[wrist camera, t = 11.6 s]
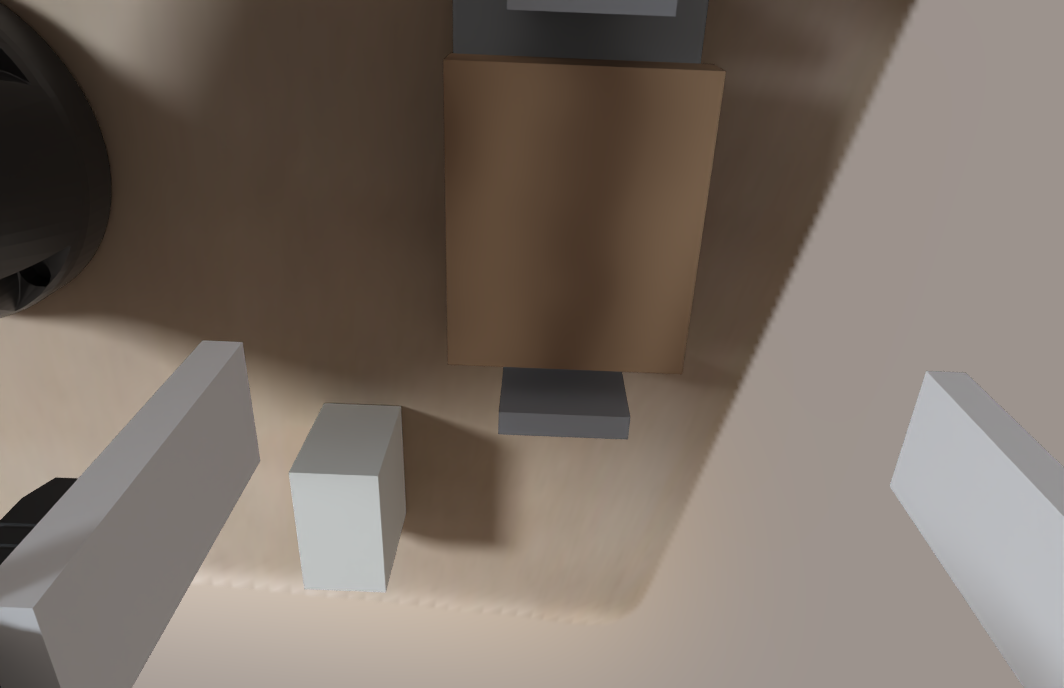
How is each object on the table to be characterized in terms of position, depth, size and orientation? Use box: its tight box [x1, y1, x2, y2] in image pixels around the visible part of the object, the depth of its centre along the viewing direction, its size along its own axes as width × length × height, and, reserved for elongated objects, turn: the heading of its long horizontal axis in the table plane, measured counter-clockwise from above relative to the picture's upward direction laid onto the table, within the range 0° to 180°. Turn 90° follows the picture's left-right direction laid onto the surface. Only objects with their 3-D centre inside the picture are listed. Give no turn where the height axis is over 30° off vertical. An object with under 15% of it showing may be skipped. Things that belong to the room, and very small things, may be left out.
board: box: [443, 53, 726, 374], centre depth 27 cm, size 9×11×2 cm
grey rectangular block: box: [289, 403, 406, 592], centre depth 38 cm, size 4×7×6 cm, turn 178°
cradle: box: [453, 0, 709, 439], centre depth 29 cm, size 10×17×9 cm, turn 178°
